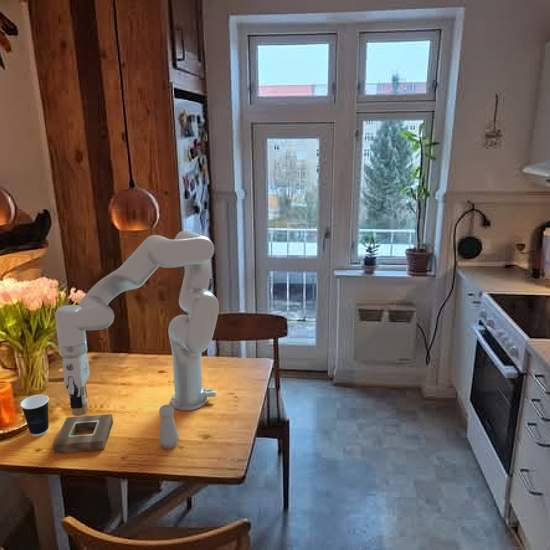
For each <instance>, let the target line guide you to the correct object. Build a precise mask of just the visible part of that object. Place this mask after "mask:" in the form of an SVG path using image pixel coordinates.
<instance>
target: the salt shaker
mask: <svg viewBox="0 0 550 550" xmlns="http://www.w3.org/2000/svg"><path fill="white" fill-rule="evenodd" d="M158 414H159V416H160V426H159V435H158V438H159V439H158V442H159V443H160V445H161V446H162V449H165V450H171V449H173V448H176V445H177V443H178V441H179V433H178V429H177V426H176V422H175V419H174V414H175V408H174V407H173V406H172V405H171V404H163V405H161V406H160V407H159V410H158Z"/></svg>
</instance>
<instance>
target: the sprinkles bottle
mask: <svg viewBox="0 0 550 550" xmlns="http://www.w3.org/2000/svg"><path fill="white" fill-rule="evenodd" d="M74 386H76V385H74ZM74 391H76V392H77V389H74ZM86 392H87V389H86V390H85V385H84V386H83V387H82V388H80V395H82V404H83V407H82V408H76V409H72V408H71V410H72V412H71V413H72V415H73V416H74V417H81V416H84V415H85V414H87V413H88V412H89V408H88V402H87V401H88V400H87V398H88V397H87V398H86Z"/></svg>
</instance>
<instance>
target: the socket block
mask: <svg viewBox="0 0 550 550" xmlns="http://www.w3.org/2000/svg"><path fill="white" fill-rule="evenodd" d="M113 424H114V419H113V414H112V413H111V414H110V413H109V414H100V415H99V414H97V415H85V416H84V415H81V416H73V417H71V416H70V417H69V416H68V417H66V418H65V421H64V422H63V425H62V426H61V428H60V430H59V432H58V434H57V436H56V438H55V440H54V442H53V444H52V448H53V454H54V455H59V454H61V455H62V454H72V453H73V454H74V453H85V452H86V453H87V452H98V451H105V448H106V445H107V443H108V439H109V436H110V433H111V431H112V427H113ZM85 432H93V433H90V434H77V433H85Z"/></svg>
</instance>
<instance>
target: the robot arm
mask: <svg viewBox="0 0 550 550" xmlns="http://www.w3.org/2000/svg"><path fill="white" fill-rule="evenodd" d="M214 253H215V245H214V243H213V242H212V240H211V239H210V238H209V237H207V236H204V235H201V234H199V233H197V232H194V231H190V230H182V231H179V232H178V233H177V234H176V236H175V237H174V239H172V238H171V239H170V238H167V237H165V236H162V235H158V234H153V235H152V234H151V235H150V236H147V237H146V238H145V239H144V240H143V241H142V243H140V245H138V247H137V248H136V249H135V250H134V251H133V252H132V254H131V255H130V256H129V257H127V258H126V260H125V261H124V262H123V263H122V265H120V266H119V268H117V269H115V270H114V271H112V272H110V273H109V274H107V275H105V276H104V277H102V278H101V279H100V280H98V281H97V282H96V283H95V284H94V285H93V286H92V287H91V288H90V289H89V290H88V292H86V294H85V295H83V297H82V298H81V300H80V302H79V304H78V305H77V304H67V305H63V306H60V307H58V308H57V309H56V310H55V312H54V318H55V326H56V334H57V335H56V336H57V342H58V344H57V345H58V352H59V357H60V356H61V358H62V370H63V371H62V374H63V383H64V387H65V389H66V390H67V395H68V397H69V402H70V404H69V405H70V409H71V410H72V409H76V408H82V407H83V404H82V395H80V388H82V387H83V386H84V385H85V390H86V398H88V395H87V386H86V383H87V381H88V379H89V376H90V373H91V371H90V365H89V357H88V353H87V352H88V343H87V342H88V341H87V334H86V331H97V330H98V331H99V330H105V329H106V328H109V327H110V326H111V325H112V324H113V323H114V319H115V313H114V310H113V309H112V308H111V307H110V306H109V304H110V303H111V301H112V300H114V299H115V298H116V297H117V296H118V295H120V294H121V293H124V292H126V291H127V292H128V291H131V290H136V289H138V288H141V287H142V286H143V285H144V284H145V283H146V282H147V280H149V278H150V277H151V276H152V275H153V274H154V273H155V272H156V270H158V268H159V267H162V268H163V269H164V268H166V269H167V268H168V269H169V268H181V267H182V268H183V267H184V274H183V281H182V284H181V288H180V292H179V298H178V305H179V307H180V308H181V310H183V312H185V313H186V314H179V315H177V316H174V318H172V319H171V321H170V322H169V325H168V330H167V331H168V333H167V334H168V338H169V343H170V347H171V356H172V369H173V370H172V371H173V372H172V373H173V383H174V384H173V385H174V394H173V395H172V396H171V398H170V405H172V406H173V407H174V409H176V410H178V411H194V410H198V409H200V408H202V407H203V406H204V405H206V404H207V401H208V398H214V397H217V395H216V390H213V388H206V387H205V386H204V384H203V374H202V371H203V370H202V353H204V352H205V351H206V350H208V348H209V347H210V345H211V344H212V341H213V337H214V333H215V329H216V325H217V320H218V316H219V312H220V305H219V304H220V303H219V300H218V298H217V297H216V296H215V295H214V293H212V292H210V291H209V288H210V287H209V286H210V280H211V274H212V264H211V259H212V257H213V256H214ZM187 314H188V315H187ZM74 385H76V386H74ZM204 387H205V388H204ZM74 389H77V392H76V391H74Z"/></svg>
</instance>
